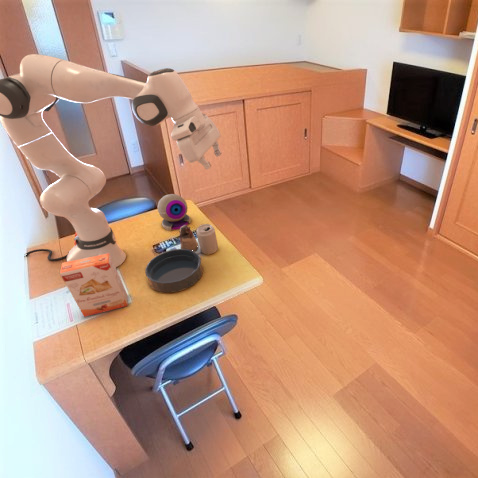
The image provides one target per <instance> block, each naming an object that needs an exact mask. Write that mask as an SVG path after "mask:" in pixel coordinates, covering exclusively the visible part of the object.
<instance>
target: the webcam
mask: <svg viewBox="0 0 478 478" xmlns="http://www.w3.org/2000/svg"><path fill="white" fill-rule="evenodd" d="M157 212H158V214H159V216H160V217H161V218H162V221H161V225H162V228H163V229H164V230H166V231H173V230H180V228H181V227H182V226H183V225H187V226H188V225H189V224H191V221H192V219H191V217H190V216H189V214H187V213H188V204H187V201H186V200H185V198H183V196H180V195H178V194H174V193H170V194H166V195H163V196H162V197H161V198H160V199H159V200H158V203H157Z"/></svg>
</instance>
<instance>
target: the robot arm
mask: <svg viewBox="0 0 478 478" xmlns="http://www.w3.org/2000/svg"><path fill="white" fill-rule="evenodd" d="M109 98H124V99H128V100H132V101H131V110H132V113H133V114H134V116H135V118H136V119H137V120H138V121H139V122H140V123H142V124H143V125H146V126H149V127H154V126H158V125H161V124H162V123H163V122H165V121H167V119H169V118H170V119H171V120H172V122H173V123H174V124H173V127H172V130H171V132H170V137H171V139H172V140H173V141H176V145H177V147H178V149H179V151H180V152H181V154H182V155H183V157H184V158H185V160H186V161H187V162H189V163H195V162H198V163H199V164H200V165H202V166H203V168H204V169H205V170H209V169H211V168H212V164H211V162H210V161H207V160H206V157H205V154H206V153H207V152H208V151H209V150H210V149H211V147H213V154H214V155H215V157H220V156H222V151H221V149H220V144H219V142H218V140H219V139H220V138H221V132H220V130H219V129H218V127H217V125H216V124H215V123H214V121H213V120H212V118H210V117H209V116H208V115H207V114H205V113H204V112H202V111H201V109H200V107H199V105H197V103H196V102H195V101H194V100H193V97H192V94H191V92H190V90H189V88H188V86H187V85H186V83H185V82H184V81H183V79H182V78H181V76H180V74H178V72H177V71H176V70H174V69H173V68H169V67H168V68H161V69H158V70H154V71H152V72H150V73H149V74H148V76H147V80H146V81H144V80H140V79H136V78H131V77H128V76H124V75H120V74H115V73H111V72H108V71H103V70H101V69H100V70H99V69H95V68H91V67H88V66H85V65H82V64H79V63H76V62H73V61H70V60H66V59H62V58H58V57H55V56H51V55H45V54H38V53H31V54H27V55H26V56H24V57H23V58H22V59H21V60H20V64H19V73H15V74H12V75H9V76H7V77H4V78H0V123H1V125H2V127H3V129H4V130H5V132H6V133H7V135H8V136H9V138H10V140H12V142H13V143H14V144H15V145H16V147H17V148H18V149H19V150H20V152H21V153H22V154H23V155H24V156H25V158H26V160H27V161H28V162H29V163H31V165H32V166H33V167H34V168H36V169H37V170H42V171H50V172H51V173H54V174H55V175H56V176H57V177H59V179H57V180H56V181H55V182H53V183H52V184H50V185H48V186H47V187H46V188H45V190H44V191H42V193H41V194H40V196H39V202H40V205H41V207H42V208H43V209H44V210H45V211H46V212H47V213H48V214H50V215H53V216H56V217H61V218H64V219H66V220H68V221H69V223H70V224H71V225H72V227H73V229H74V232H75V233H74V238H73V241H74V242H73V245H74V246H73V247H72V248H70V250H69V251H67V254H66V255H63V256H61V257H57V258H52V255H53V250H52V249H48V248H37V249H33V250H29V251H28V252H26V253H25V254H27V255H26V257H28V256H29V255H30V254H33V253H39V252H47V253H48V255H47V260H48V261H50V262H57V261H61V260H65V259H66V262H69V261H74V260H79V259H84V258H88V257H93V256H98V255H103V254H108V253H110V255H111V258H112V260H113V262H114V265H115V267H116V268H118V267H119V266H121V265H122V264H123V263H124V262H125V260H126V258H127V255H126V253H125V252H124V250H123V249H122V248H121V247H120V245H119V244H118V242H117V238H116V235H115V232H114V230H113V228H112V227H111V226H110V225H109V222H108V220H107V217H106V215H105V213H104V212H103V211H102V210H100V209H98V208H95V207H91V206H90V205H89V204H90V203H89V202H90V201H91V200H92V199H93V198H94V197H95V196H97V195H98V194H99V193H101V191H102V190H103V188H104V187H105V185H106V183H107V178H106V175H105V174H104V172H103V171H102V170H101V169H100V168H99V167H97V166H95V165H92V164H88V163H84V162H82V161H81V160H79V159H78V158H76V157H75V156H74V155H73V154H71V153H70V151H68V150H67V149H66V147H65V146H64V145H63V143H62V142H61V141H60V139H58V138H57V136H56V134H54V132H53V131H52V129H51V128H50V127H49V126H48V125H47V123H46V122H45V120H44V119H43V113H44V112H49V111H50V110H51V109H52V108H53V107H54V106H55V105H56V104H57V103H58V102H59V101H60V100H64V101H68V102H72V103H80V104H90V103H93V102H97V101H101V100H104V99H109Z"/></svg>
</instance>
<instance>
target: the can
mask: <svg viewBox="0 0 478 478" xmlns="http://www.w3.org/2000/svg"><path fill="white" fill-rule="evenodd" d="M195 233H196V237H197V243H198V247H199V250H200V252H201V253H202V254H205V255H212V254H215V253H216V252H217V251H218V250H219V243H218V240H217V239H218V238H217V234H216V229H215V228H214V227H213V225H212V224H210V223H204V224H203V223H202V224H200V225H199V226H198V227H197V228H196V231H195Z"/></svg>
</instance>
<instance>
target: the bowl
mask: <svg viewBox="0 0 478 478" xmlns="http://www.w3.org/2000/svg"><path fill="white" fill-rule="evenodd" d="M144 271H145V272H144V273H145V276H146V279H147V281H148V284H149V286H150V288H152V289H153V290H154V291H157V292H160V293H167V294H168V293H178V292H180V291H181V292H182V291H183V290H187V289H188V288H190V287H193V285H195V284H196V283H197V282H198V281H200V279H201V278H202V276H203V273H204V267H203V263H202V258H201V256H200V254H199V253H197V252H196V251H192V250H188V249H181V248H175V249H170V250H167V251H164V252H161V253H159V254H157V255H155V256H154V257H152V259H150V261H149V262H148V263H147V264H146V266H145V270H144Z"/></svg>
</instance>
